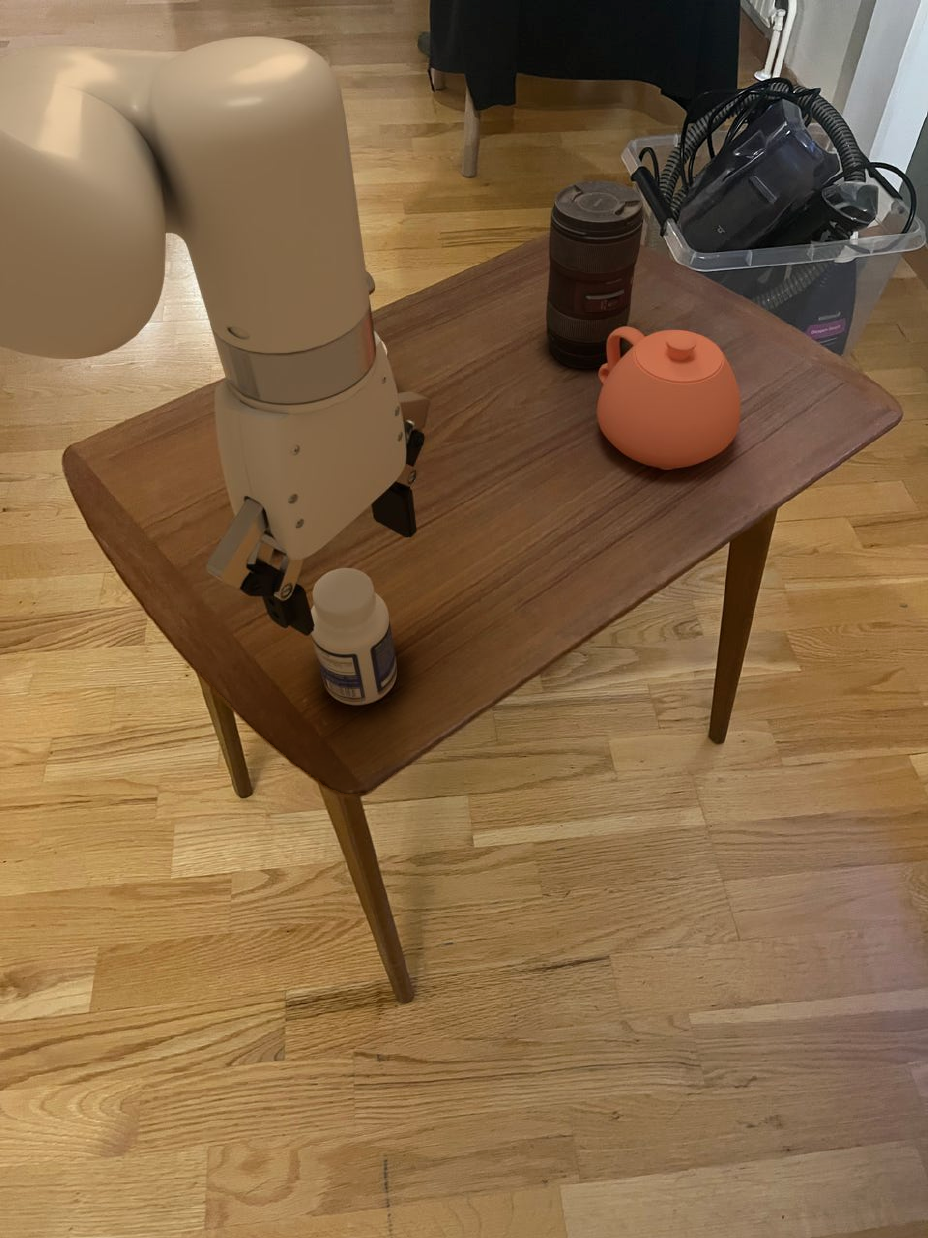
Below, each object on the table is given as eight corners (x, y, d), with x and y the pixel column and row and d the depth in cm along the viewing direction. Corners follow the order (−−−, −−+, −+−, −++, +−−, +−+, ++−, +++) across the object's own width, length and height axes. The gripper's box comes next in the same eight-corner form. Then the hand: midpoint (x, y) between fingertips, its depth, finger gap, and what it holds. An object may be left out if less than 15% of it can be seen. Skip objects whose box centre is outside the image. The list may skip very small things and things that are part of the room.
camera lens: (636, 334, 91) (658, 186, 80) (609, 381, 87) (628, 231, 75) (560, 316, 94) (571, 169, 82) (530, 360, 89) (537, 212, 77)
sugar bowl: (670, 504, 76) (692, 407, 68) (552, 425, 83) (559, 327, 75) (761, 438, 81) (790, 340, 73) (642, 368, 88) (657, 271, 80)
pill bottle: (380, 636, 68) (366, 548, 61) (409, 689, 65) (398, 604, 58) (312, 663, 67) (289, 576, 59) (339, 718, 64) (318, 634, 56)
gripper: (356, 238, 50) (388, 472, 63) (105, 407, 41) (204, 634, 55) (466, 280, 47) (475, 516, 60) (220, 472, 38) (295, 695, 52)
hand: (346, 572), depth 57 cm, fingers open, 9 cm apart
